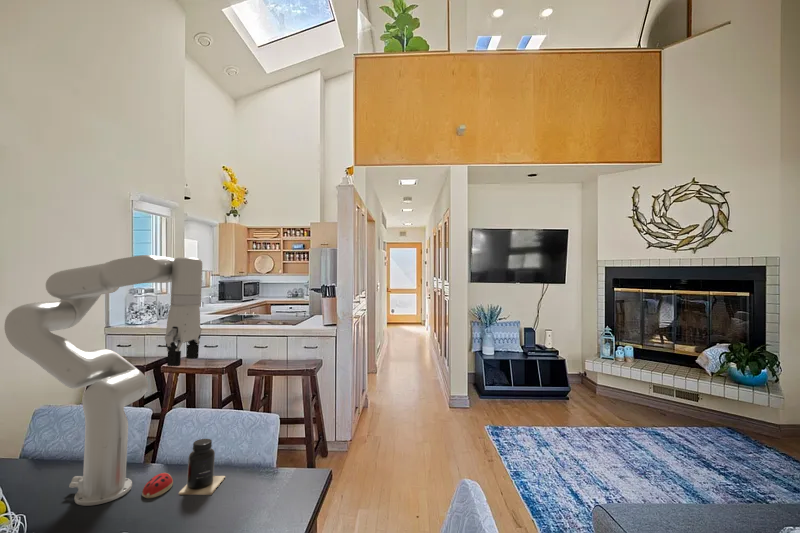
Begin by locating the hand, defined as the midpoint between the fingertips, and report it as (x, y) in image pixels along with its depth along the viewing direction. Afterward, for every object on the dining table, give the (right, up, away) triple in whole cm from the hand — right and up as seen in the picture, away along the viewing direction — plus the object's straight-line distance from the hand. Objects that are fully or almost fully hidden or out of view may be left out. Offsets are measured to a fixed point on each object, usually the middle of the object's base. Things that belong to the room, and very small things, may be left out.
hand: (183, 361), depth 108 cm
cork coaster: (+4, -37, +3) cm, 37 cm away
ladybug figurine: (-7, -37, 0) cm, 37 cm away
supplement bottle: (+3, -36, +3) cm, 36 cm away
